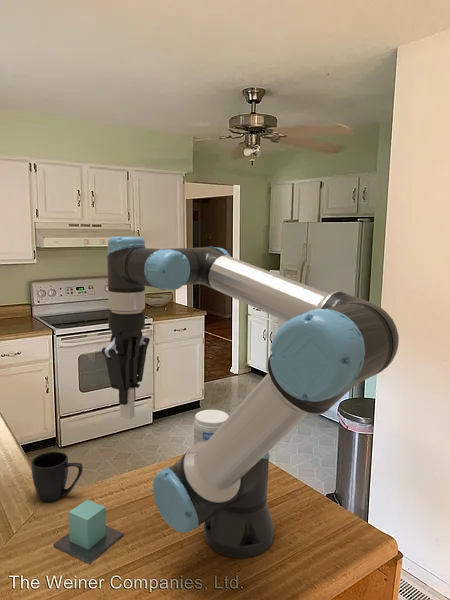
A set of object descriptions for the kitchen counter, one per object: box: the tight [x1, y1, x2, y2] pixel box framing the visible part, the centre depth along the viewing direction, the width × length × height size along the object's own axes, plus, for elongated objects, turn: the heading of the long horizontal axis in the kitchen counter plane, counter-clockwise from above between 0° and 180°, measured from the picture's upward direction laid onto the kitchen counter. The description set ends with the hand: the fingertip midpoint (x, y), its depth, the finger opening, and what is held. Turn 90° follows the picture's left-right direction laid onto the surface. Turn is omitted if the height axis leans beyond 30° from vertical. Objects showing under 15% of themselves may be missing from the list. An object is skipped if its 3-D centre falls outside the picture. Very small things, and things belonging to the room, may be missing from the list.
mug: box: [31, 451, 84, 503], centre depth 113 cm, size 8×12×10 cm
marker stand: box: [53, 525, 125, 565], centre depth 98 cm, size 10×10×6 cm
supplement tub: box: [193, 409, 230, 445], centre depth 129 cm, size 10×10×15 cm
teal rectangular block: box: [68, 499, 107, 550], centre depth 98 cm, size 5×5×7 cm
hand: (127, 416), depth 102 cm, fingers closed
